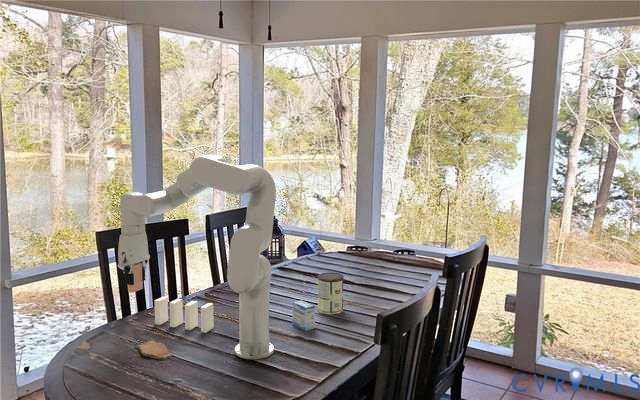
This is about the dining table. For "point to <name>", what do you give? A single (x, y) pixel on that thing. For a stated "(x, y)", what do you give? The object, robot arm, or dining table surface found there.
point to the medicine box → (303, 315)
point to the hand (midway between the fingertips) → (135, 281)
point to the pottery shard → (154, 350)
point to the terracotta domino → (136, 278)
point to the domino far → (161, 310)
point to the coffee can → (330, 293)
